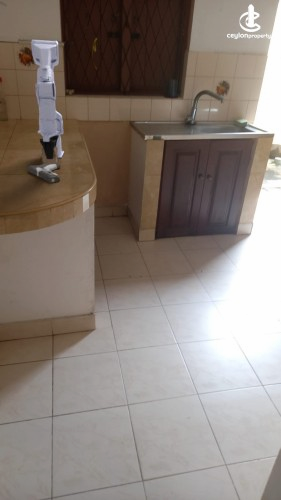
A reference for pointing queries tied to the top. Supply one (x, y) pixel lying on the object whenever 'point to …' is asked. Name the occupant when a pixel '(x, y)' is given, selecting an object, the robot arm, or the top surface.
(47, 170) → the handgun
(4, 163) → the top surface
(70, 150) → the top surface
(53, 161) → the walnut cube
